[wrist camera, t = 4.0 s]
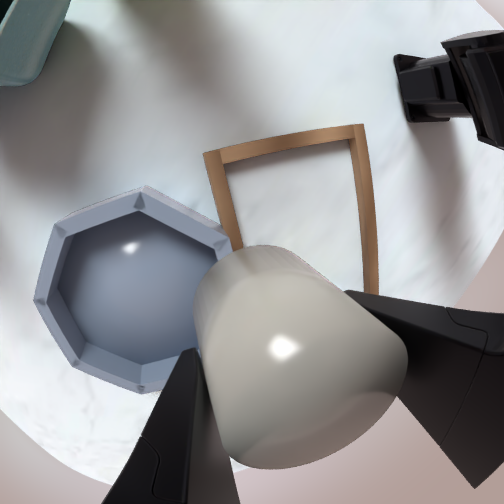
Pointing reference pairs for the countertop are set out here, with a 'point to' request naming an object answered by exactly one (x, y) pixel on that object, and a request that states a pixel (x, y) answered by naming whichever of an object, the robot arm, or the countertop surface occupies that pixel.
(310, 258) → the countertop surface
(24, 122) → the countertop surface
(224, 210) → the wooden frame
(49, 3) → the flower pot
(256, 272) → the white rounded cylinder
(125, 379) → the bowl
